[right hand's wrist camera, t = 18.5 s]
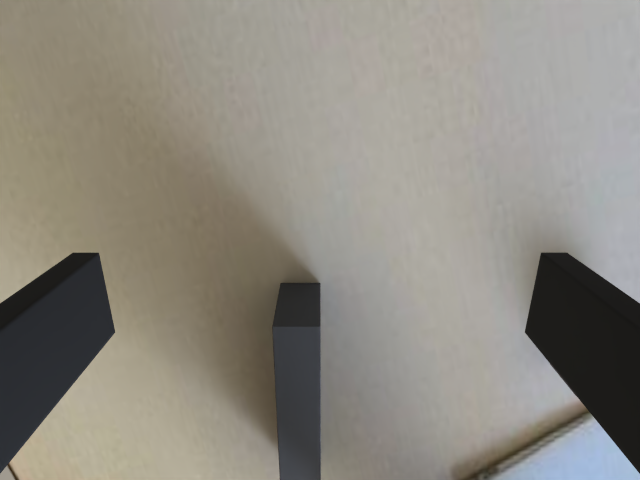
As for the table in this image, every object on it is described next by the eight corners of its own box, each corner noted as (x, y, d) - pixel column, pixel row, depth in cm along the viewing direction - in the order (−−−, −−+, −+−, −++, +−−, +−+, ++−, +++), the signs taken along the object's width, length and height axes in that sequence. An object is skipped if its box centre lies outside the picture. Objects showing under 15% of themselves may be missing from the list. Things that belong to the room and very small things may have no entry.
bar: (280, 283, 42) (272, 326, 35) (320, 282, 42) (320, 326, 35) (287, 459, 51) (282, 525, 43) (320, 459, 51) (320, 525, 43)
